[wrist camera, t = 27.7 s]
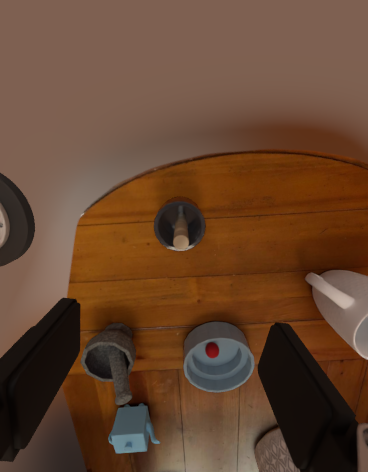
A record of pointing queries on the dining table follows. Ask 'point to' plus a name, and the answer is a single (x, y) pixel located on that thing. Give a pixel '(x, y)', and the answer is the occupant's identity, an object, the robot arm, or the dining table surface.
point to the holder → (167, 219)
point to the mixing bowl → (225, 364)
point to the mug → (344, 305)
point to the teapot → (132, 429)
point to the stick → (181, 232)
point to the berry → (212, 350)
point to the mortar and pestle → (111, 359)
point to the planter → (274, 453)
